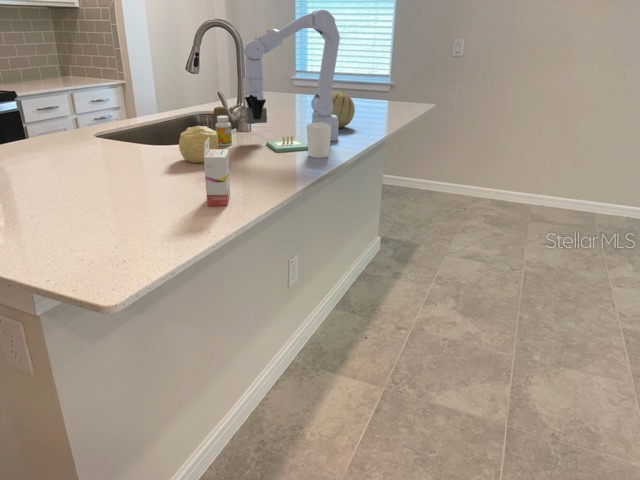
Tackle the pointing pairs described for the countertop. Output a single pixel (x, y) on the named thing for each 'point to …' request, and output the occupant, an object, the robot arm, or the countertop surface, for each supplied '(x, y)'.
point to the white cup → (318, 139)
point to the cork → (220, 113)
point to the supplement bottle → (223, 131)
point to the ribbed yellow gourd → (342, 108)
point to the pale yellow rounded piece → (197, 143)
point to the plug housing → (250, 118)
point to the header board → (287, 145)
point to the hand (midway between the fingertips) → (255, 118)
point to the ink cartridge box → (216, 175)
